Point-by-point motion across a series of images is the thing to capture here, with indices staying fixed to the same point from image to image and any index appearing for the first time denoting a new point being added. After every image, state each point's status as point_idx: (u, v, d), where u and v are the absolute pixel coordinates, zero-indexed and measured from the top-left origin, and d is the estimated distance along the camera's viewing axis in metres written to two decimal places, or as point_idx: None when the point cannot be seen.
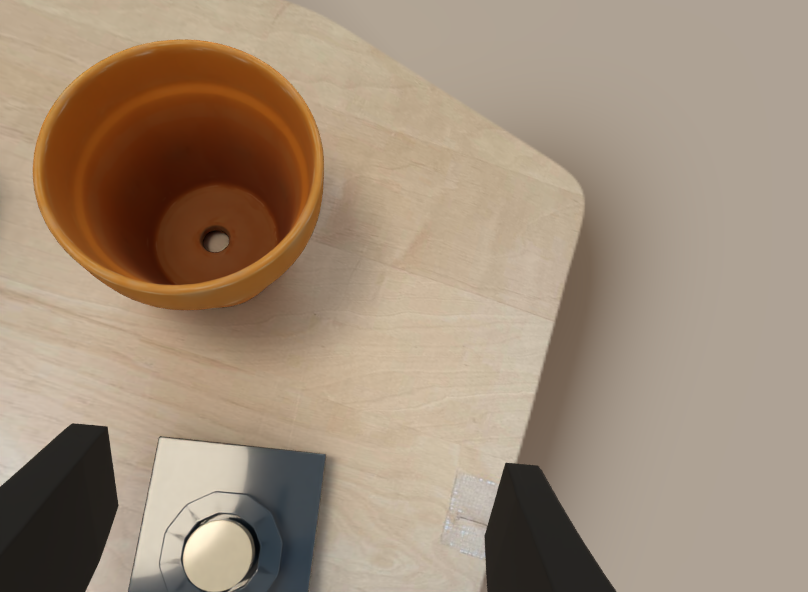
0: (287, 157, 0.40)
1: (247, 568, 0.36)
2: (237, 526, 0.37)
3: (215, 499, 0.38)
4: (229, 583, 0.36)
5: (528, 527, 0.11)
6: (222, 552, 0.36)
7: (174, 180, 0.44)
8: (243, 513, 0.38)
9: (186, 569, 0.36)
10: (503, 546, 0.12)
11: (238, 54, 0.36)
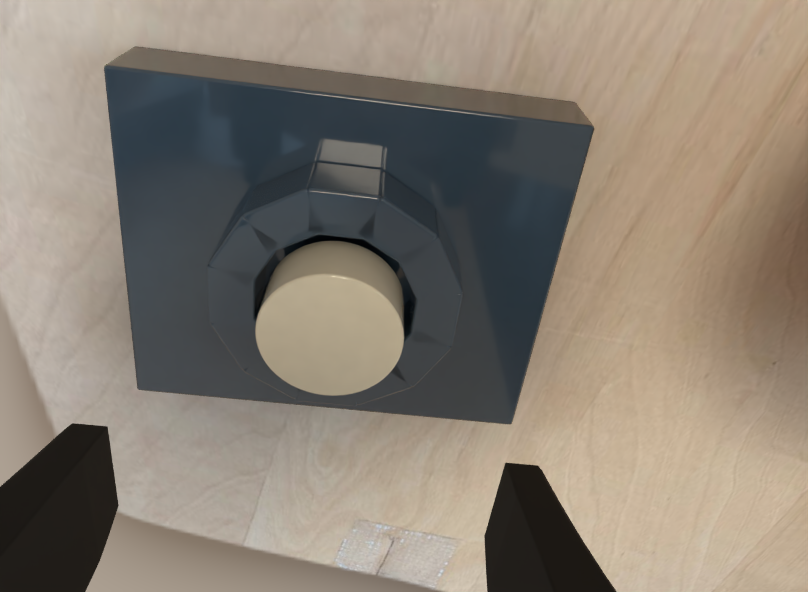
0: None
1: (305, 389, 0.17)
2: (389, 370, 0.17)
3: (445, 293, 0.17)
4: (274, 361, 0.17)
5: (528, 527, 0.11)
6: (336, 347, 0.16)
7: None
8: (413, 342, 0.18)
9: (298, 284, 0.15)
10: (504, 546, 0.12)
11: None
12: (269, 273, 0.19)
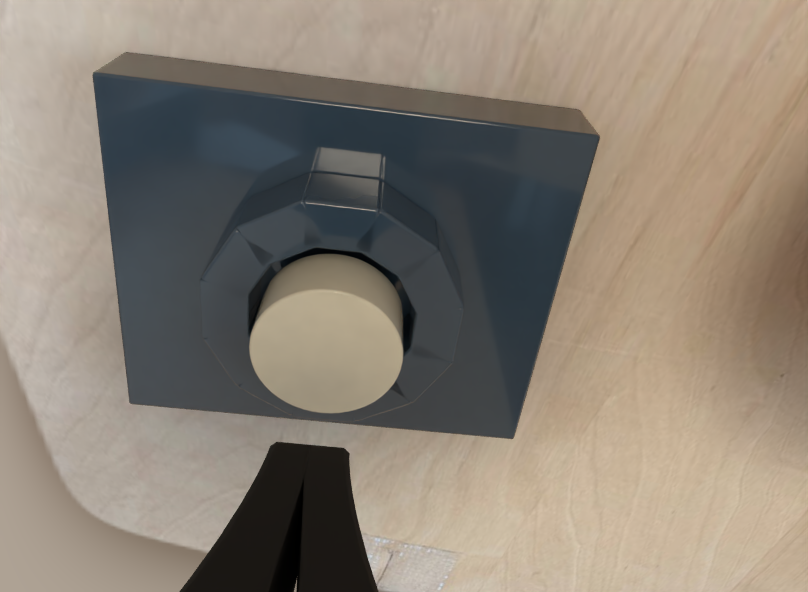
0: None
1: (301, 406, 0.17)
2: (388, 388, 0.16)
3: (446, 307, 0.17)
4: (268, 378, 0.16)
5: (303, 508, 0.10)
6: (333, 364, 0.16)
7: None
8: (412, 358, 0.18)
9: (293, 300, 0.15)
10: (300, 530, 0.11)
11: None
12: (264, 286, 0.18)
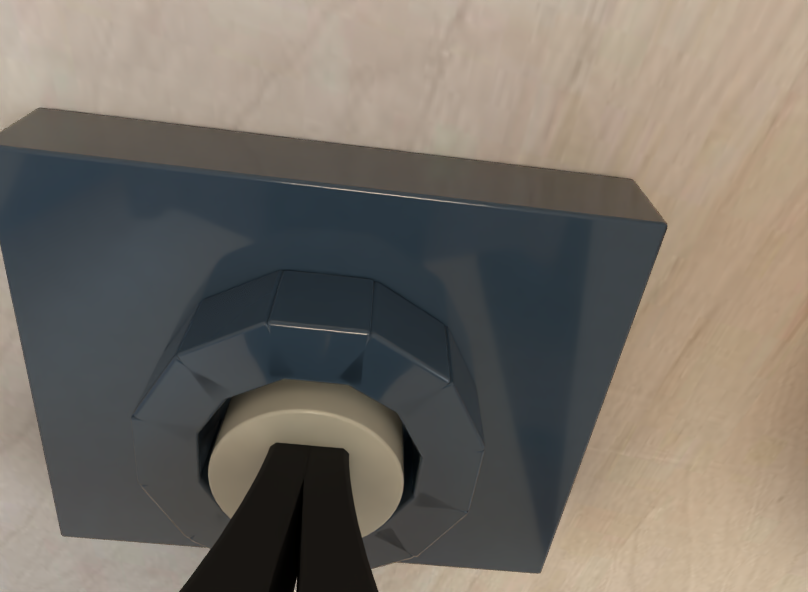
0: None
1: None
2: (384, 520, 0.13)
3: (461, 450, 0.13)
4: (235, 510, 0.13)
5: (303, 508, 0.10)
6: None
7: None
8: (416, 506, 0.13)
9: (262, 422, 0.12)
10: (300, 530, 0.11)
11: None
12: (224, 405, 0.14)
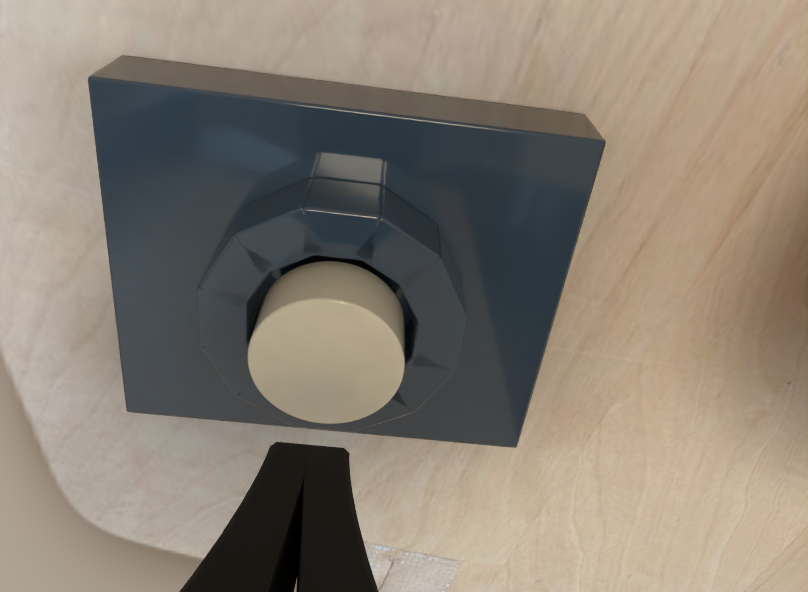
0: None
1: (301, 417, 0.16)
2: (389, 398, 0.16)
3: (448, 316, 0.16)
4: (267, 388, 0.16)
5: (303, 508, 0.10)
6: (333, 374, 0.16)
7: None
8: (414, 367, 0.17)
9: (292, 309, 0.15)
10: (300, 530, 0.11)
11: None
12: (263, 293, 0.18)
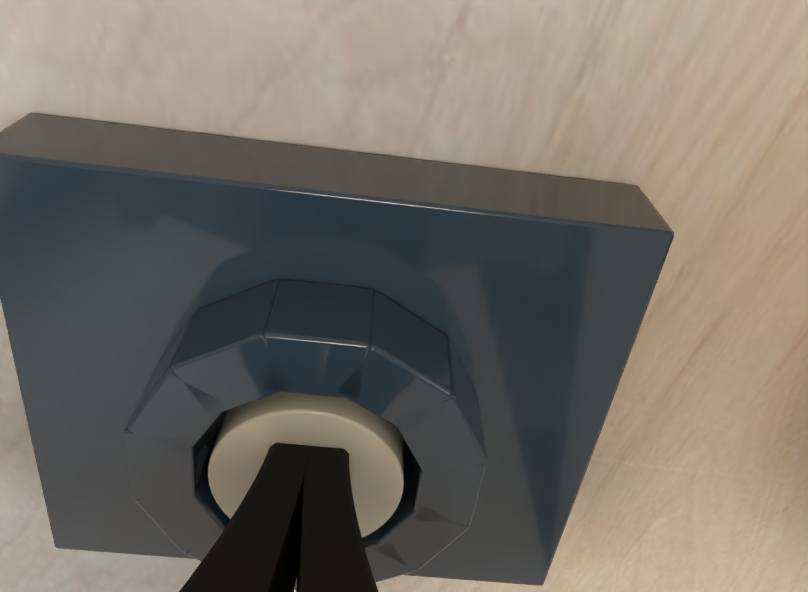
0: None
1: None
2: (384, 520, 0.13)
3: (462, 463, 0.12)
4: (234, 510, 0.13)
5: (302, 508, 0.10)
6: None
7: None
8: (416, 520, 0.13)
9: (262, 423, 0.12)
10: (300, 530, 0.11)
11: None
12: (221, 416, 0.14)
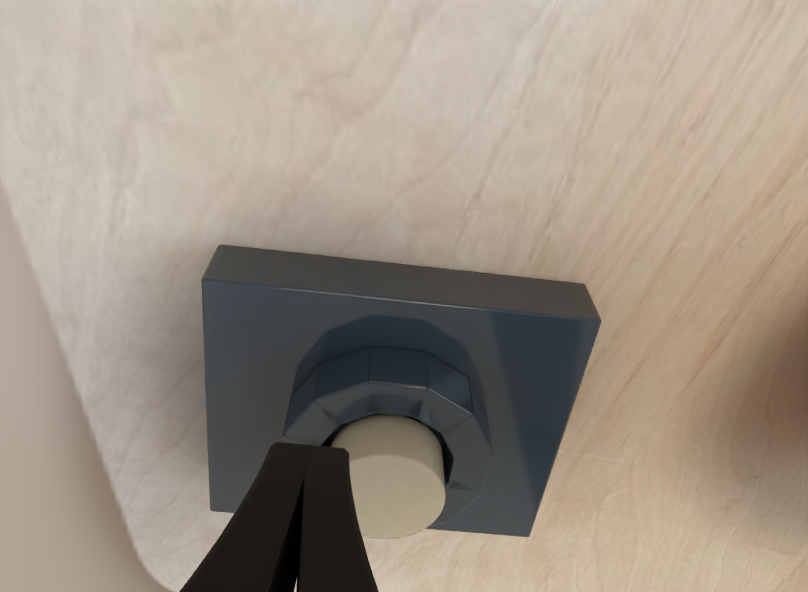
0: None
1: (362, 534, 0.21)
2: (432, 521, 0.21)
3: (478, 454, 0.21)
4: None
5: (303, 508, 0.10)
6: (389, 505, 0.20)
7: None
8: (450, 489, 0.22)
9: (361, 462, 0.19)
10: (300, 530, 0.11)
11: None
12: None
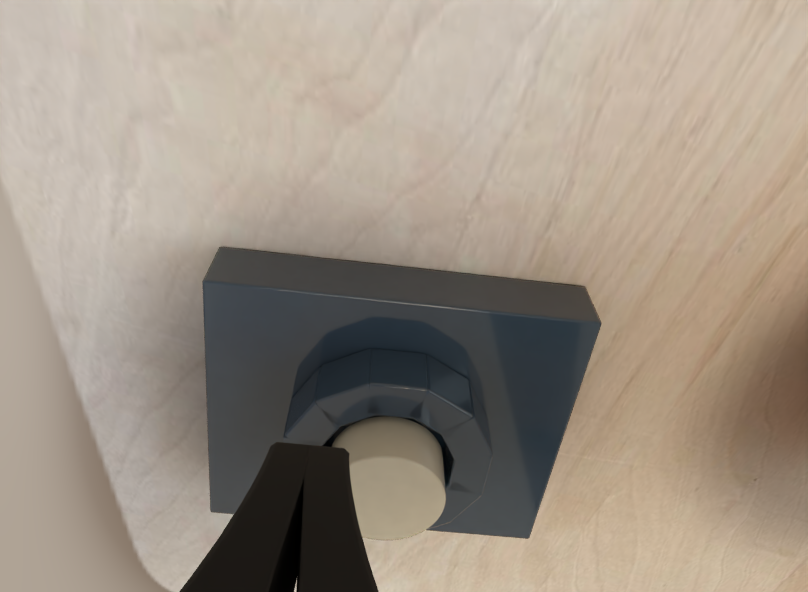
0: None
1: (363, 535, 0.21)
2: (432, 523, 0.21)
3: (478, 456, 0.21)
4: None
5: (303, 508, 0.10)
6: (390, 506, 0.20)
7: None
8: (450, 491, 0.22)
9: (362, 464, 0.19)
10: (301, 530, 0.11)
11: None
12: None
